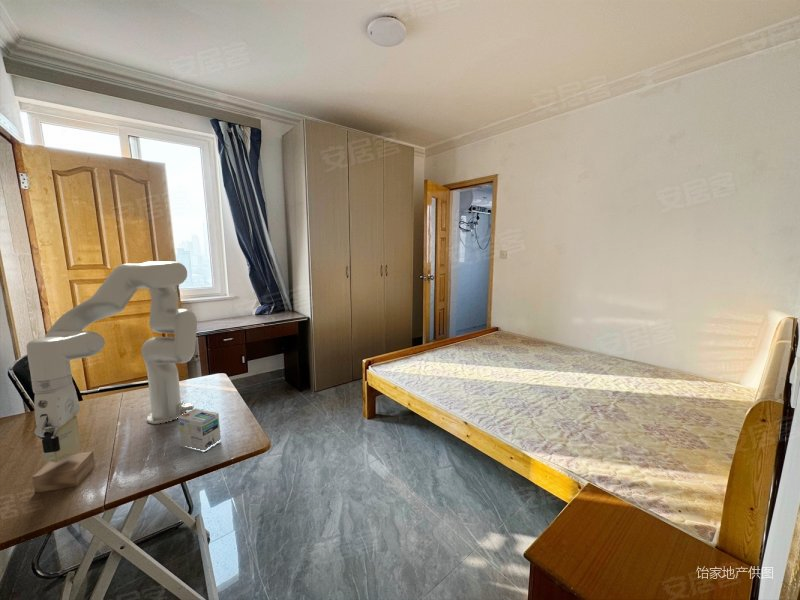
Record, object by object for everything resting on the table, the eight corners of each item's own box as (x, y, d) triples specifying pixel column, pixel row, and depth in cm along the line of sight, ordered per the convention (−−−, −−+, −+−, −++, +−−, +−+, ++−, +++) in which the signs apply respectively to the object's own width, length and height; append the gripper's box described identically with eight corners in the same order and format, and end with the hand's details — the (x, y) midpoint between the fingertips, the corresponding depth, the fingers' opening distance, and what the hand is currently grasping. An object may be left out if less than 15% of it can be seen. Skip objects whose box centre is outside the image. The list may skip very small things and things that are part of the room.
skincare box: (56, 463, 90) (50, 421, 88) (43, 461, 91) (37, 419, 89) (82, 450, 96) (77, 410, 94) (70, 448, 97) (64, 409, 95)
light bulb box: (221, 442, 113) (219, 412, 111) (204, 453, 106) (201, 422, 105) (198, 436, 116) (195, 407, 114) (179, 447, 110) (177, 416, 108)
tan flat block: (95, 466, 100) (93, 451, 99) (77, 486, 92) (75, 469, 91) (56, 472, 97) (54, 456, 96) (35, 493, 89) (32, 476, 88)
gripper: (49, 393, 83) (58, 459, 86) (87, 370, 100) (95, 426, 102) (9, 397, 81) (20, 464, 83) (55, 373, 97) (64, 430, 100)
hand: (61, 443), depth 93 cm, fingers closed on skincare box, 7 cm apart
